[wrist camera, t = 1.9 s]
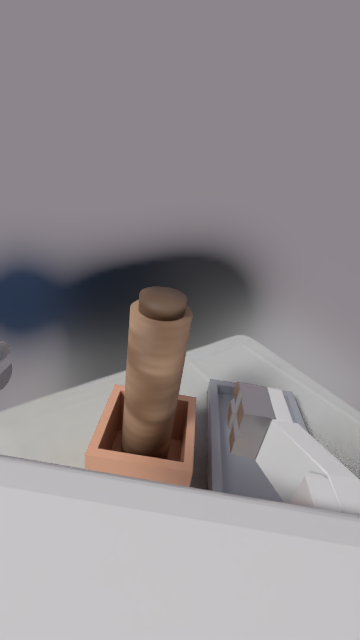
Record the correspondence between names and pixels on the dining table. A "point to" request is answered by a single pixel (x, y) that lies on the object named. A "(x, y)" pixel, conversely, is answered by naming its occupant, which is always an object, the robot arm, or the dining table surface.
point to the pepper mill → (154, 370)
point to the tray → (221, 465)
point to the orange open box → (111, 460)
